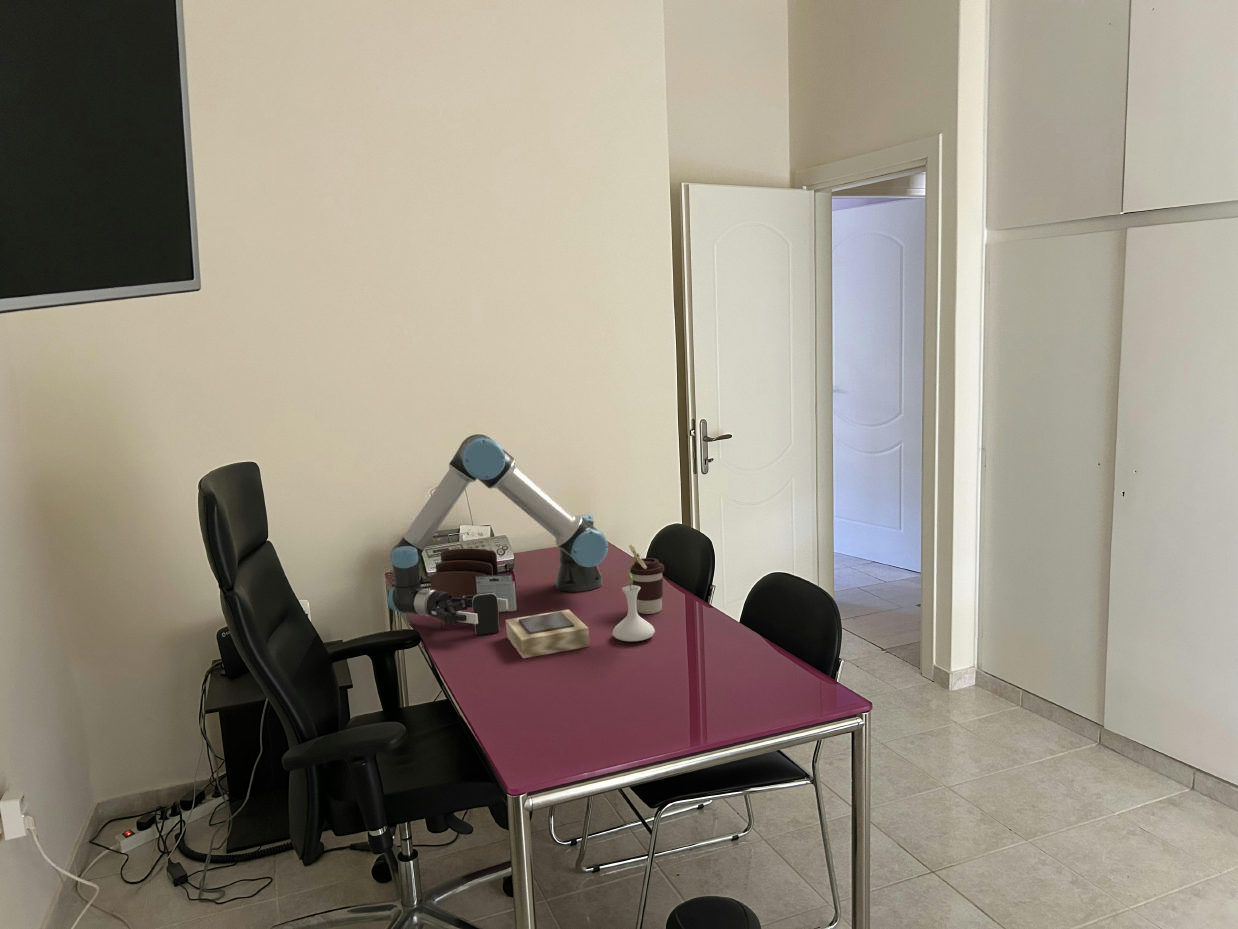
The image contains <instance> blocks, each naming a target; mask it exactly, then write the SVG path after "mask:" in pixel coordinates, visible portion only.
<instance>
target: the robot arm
mask: <svg viewBox="0 0 1238 929" xmlns="http://www.w3.org/2000/svg"><path fill="white" fill-rule="evenodd" d="M477 480H478V481H479V482H481V483H482V484H483V485H484V486H485V487H487V488H488V489H497V490H498V491H499V492H501V493H502V494H503V495H504V496H505V497H506V498H508V499H509V500H510V501H511V502H513V504H515V505H516V506H517V507H518V508H520V510H522V511H523V513H525V514H526V515H528V516H529V517H530V518H531V519H533V520H534V521H535V522H536V523H538V524H539V525H540V526H541V527H542V528H543V529H545V530H546V531H547V532H548V533H550V535H551V536H553V537H554V538H555V539H554V541H555V542H554V543H555V545H556V546H557V547H558V553H559V567H558V570H557V573H556V576H555V577H556V578H555V587H556V589H558V590H559V591H563V592H569V593H570V592H571V593H574V592H575V593H576V592H586V591H591V590H595V589H598V588H600V587H601V586H603V576H602V574H601V571H600V569H599V566H598V565H599V564H601V563H602V562H603V561H604V560H605V558H606V556H607V555H608V553H609V552H608V551H609V542H608V539H607V537H606V536H605V534H604V533H603V532H602V531H601V530H598V529H597V528H596V527H595V526H594V523H595V521H594V517H593V516H592V515H591V514H578V515H577V514H576V515H573V513H571V512H569V511H568V510H567V509H566V508H565V507H564V506H563V505H561V504H560V503H559V502H558V501H557V500H555V498H553V497H552V496H551V495H549V493H547V492H546V491H545V490H544V489H542V488H541V486H539V485H538V484H537V483H536V482H535V481H534V480H532V479H531V478H530V477H529V476H527V475H526V473H524V472H523V471H522V470H521V469H519V468H518V467H517V466H516V460H515V458H514V456H512V455H511V454H510V453H508V452H507V451H506V450H505V449H504V448H503V447H502V446H501V445H500V444H499V443H498V442H497V441H495V439H494V440H493V439H492V438H490V437H489V436H487V435H484V434H480V433H479V434H478V433H477V434H476V433H475V434H472V435H470V436H468V437H466V438H464V440H463V441H462V442H461V443H460V445H459V447H458V449H457V451H456V452H455V454H454V455H453V457H452V459H451V460H450V462H449V463H448V471H447V472H446V473H445V475H444V476H443V478H442V479H441V481H440V482H439V484H438V485H437V486H436V488H435V489H434V491H433V492H432V494H431V496H430V497H429V498H428V500H427V501H426V502H425V504H424V505H423V507H422V509H421V510H420V511H419V512H418V514H417V516H416V517H415V518H414V520H413V521H412V523H411V524H410V526H409V527H408V528H407V530H406V532H405V533H404V534H403V536H402V537H401V539H400V541H399V542H398V543H396V544H395V545H394V546H393V547H392V550H391V551H390V555H389V556H390V557H389V558H390V562H391V566H392V575H393V584H394V586H393V587H392V588H390V590H389V591H388V597H387V600H386V601H387V604H388V606H389V608H390V609H391V610H392V611H394V612H399V613H402V614H409V615H418V616H425V618H426V617H427V618H429V617H432V618H437V619H438V620H440V621H441V622H443V623H445V624H447V625H449V624H451V623H452V625H457V624H458V622H460V623H467V624H472V625H473V624H474V625H475V624H478V615H477V614H476V613H473V612H470V611H469V612H468V611H465V610H468V609H471V608H473V605H472V598H473V596H474V595H460V598H457V597H453V598H452V597H451V596H450V594H449V593H447V592H443V591H435V590H431V589H428V588H427V589H426V588H422V587H421V578H420V564H419V561H420V560H419V559H420V556H421V555H422V553H423V552H424V550H425V549H426V548H427V546H428V545H429V543H430V542H431V540H432V538H434V535H435V534H436V533H437V532H438V530H439V528H440V527H441V525H442V524H443V522H445V520H446V518H447V517H448V515H449V514H450V512H451V511H452V510H453V508H454V507H455V505H456V504H457V502H458V501H459V500H460V498H461V497H462V496H463V494H464V492H465V491H466V490H467V488H468V486H469V485H470V484H471V483H475V482H476V481H477ZM497 600H498V608H501V609H508V599H501V598H497Z"/></svg>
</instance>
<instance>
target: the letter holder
mask: <svg viewBox="0 0 1238 929" xmlns="http://www.w3.org/2000/svg"><path fill="white" fill-rule="evenodd" d="M498 565H499V564H498V556H497V552H496V551H494V550H491V549H484V548H483V549H482V548H453V549H446V550H442V551H441V552H440V562H436V564H435V573H432V574H430V577H429V580H430V590H435V591H443V592H447V593H449V594H450V596H451V597H452V598H453V597H457V598H460V595H475V594H477V586H476V576H488V575H499V566H498ZM490 581H499V579H495V578H493V579H490Z"/></svg>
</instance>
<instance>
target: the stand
mask: <svg viewBox="0 0 1238 929" xmlns="http://www.w3.org/2000/svg"><path fill="white" fill-rule="evenodd" d="M505 628H506V630H505V631H506V638H507V639H508V641H509V640H510V641H509V642H510V643H511V645H512V646H513V647H514V648H516V649H515V650H516V651H517V652H518V654H519V655H520V656H521V657H522V659H527V658H528V659H529V658H532V657H538V656H543V655H544V656H545V655H549V654H555V653H560V652H567V651H571V650H578V649H582V648H583V649H584V648H587V647H589V648H590V647H591V646H590V645H591V644H590V632H589V630H590V629H589V627H588V626H587V625H586V624H585V623H583V621H581V620H580V619H579V618H578V617H577V615H575V614H574V613H573V612H572V611H571V610H570V609H563V610H557V611H551V612H546V613H545V612H544V613H539V614H533V615H528V616H521V617H515V618H508V619H505Z"/></svg>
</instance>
